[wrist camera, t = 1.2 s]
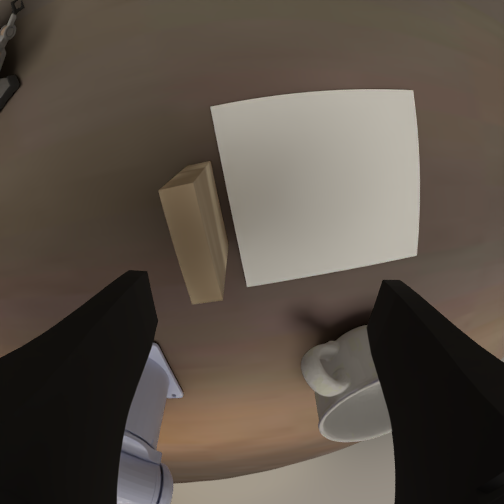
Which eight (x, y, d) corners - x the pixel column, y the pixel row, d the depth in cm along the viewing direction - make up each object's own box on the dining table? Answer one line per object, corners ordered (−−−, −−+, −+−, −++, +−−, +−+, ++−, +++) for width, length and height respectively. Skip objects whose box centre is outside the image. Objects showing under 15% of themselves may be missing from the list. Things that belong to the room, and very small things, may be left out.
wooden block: (206, 247, 21) (192, 304, 15) (187, 165, 18) (158, 190, 12) (228, 243, 21) (222, 300, 15) (210, 160, 18) (193, 182, 12)
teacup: (420, 344, 26) (452, 398, 19) (339, 397, 29) (356, 455, 22) (362, 260, 22) (407, 323, 15) (258, 337, 25) (264, 413, 18)
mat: (247, 284, 22) (247, 286, 22) (211, 107, 17) (210, 106, 16) (414, 253, 22) (416, 255, 21) (410, 90, 16) (412, 90, 16)
